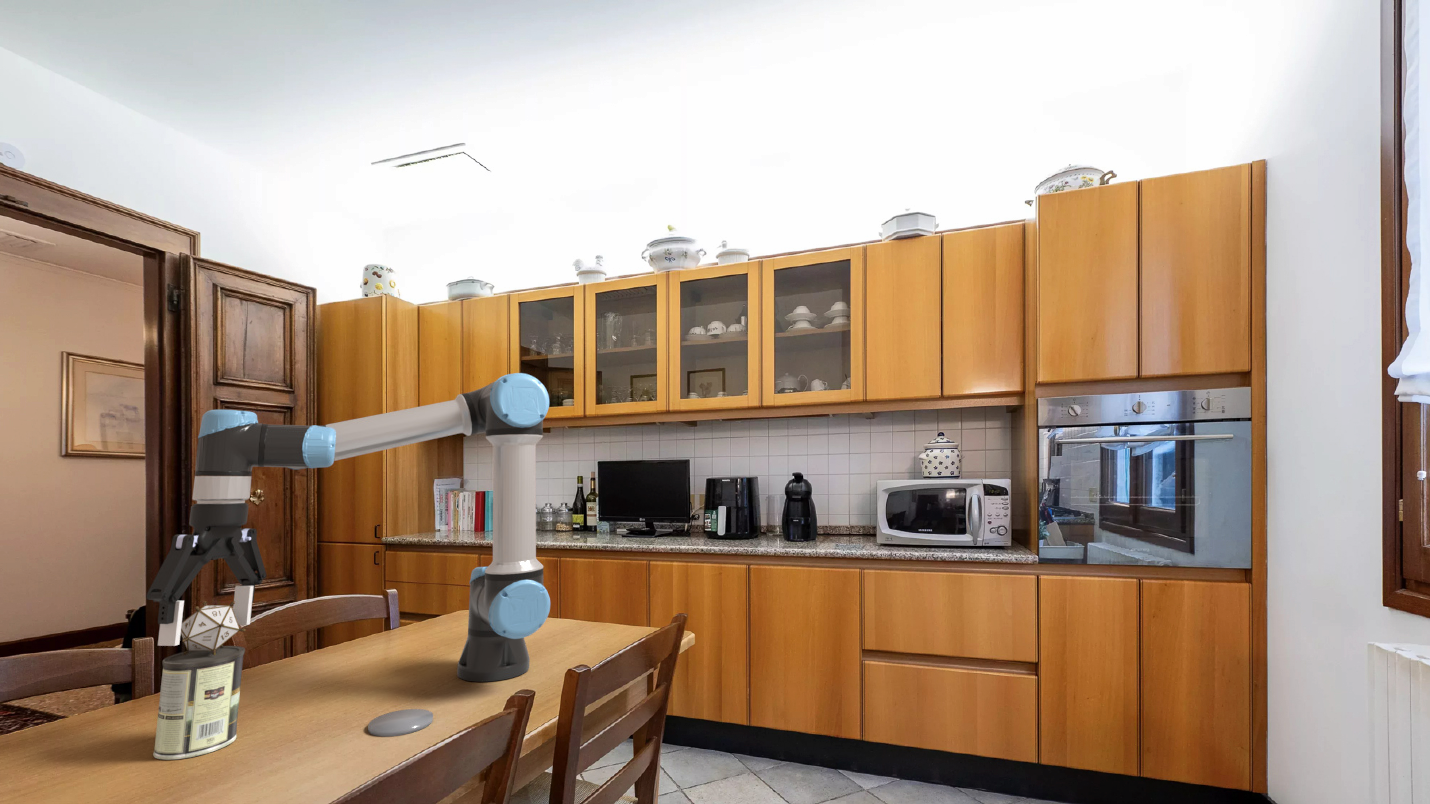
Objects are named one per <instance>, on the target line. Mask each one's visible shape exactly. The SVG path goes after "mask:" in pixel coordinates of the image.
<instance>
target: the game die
mask: <svg viewBox="0 0 1430 804" xmlns="http://www.w3.org/2000/svg"><path fill="white" fill-rule="evenodd" d="M202 604H203V606H202V607H201V608H200V606H196V607H195V609H194V610H195V612H194V613H192V614H191V615H190V616H188V617H187V618H186V619H184V620H182V624H181V634H180V637H181V638H182V642H183V643H184V646H185V649H186V650H185V651H183V652H184V654H183V656H184V655H186V654H187V653H188V652H189V651H213V652H212V654H213V655H216V651H215V650H216V649H217V648H219V647H220V648H223V646H225V645H224V644H225V643H226V642H227V641H229V640H230V639H231V638H232V637H234V636H235V635H236V634H238V633H239V632H242V633H243V632H246V631H247V629H245V628H243V627H242V628H240V625H239V624H238V622H237V619H236V617H235V614H234V611H233V605H234V604H235V601H234V600H233V601H232V602H231V603H230V604H228V605H227V604H226V605H225V604H223V605H221V604H219V605H216V604H215V605H214V604H213V605H211V604H209V605H208V601H205V600H204V601H203V603H202Z"/></svg>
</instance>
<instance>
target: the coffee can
mask: <svg viewBox="0 0 1430 804" xmlns="http://www.w3.org/2000/svg"><path fill="white" fill-rule="evenodd" d="M215 651H216V655H213V654H212V652H213V651H189V652H188V653H187V654H186V655H184V656H183V654H184V652H185V651H182V652H178V653H174V654H172V655H169V656H166V657H164V659H163V660H162V676H161V683H160V684H161V685H160V692H159V693H160V694H159V703H158V712H157V713H158V714H157V721H156V729H155V730H156V732H155V739H154V740H155V741H154V750H153V753H152V754H153V755H152V756H153V757H154V758H155V759H158V760H163V761H165V760H166V761H170V760H182V759H191V758H194V757H199V756H203V755H206V754H210V753H213V752H216V751H218V750H221V749H223V748H225V747H227V746H230V744H233V742H235V741H236V739H237V731H238V730H237V729H238V719H239V718H238V715H239V708H240V706H239V705H240V697H241V695H240V693H241V683H242V675H243V673H242V672H243V662H244V655H245V654H246V653H245V652H246V648H245V647H243V646H238V645H224V646H223V648H220V647H219V648H217V649H216V650H215Z"/></svg>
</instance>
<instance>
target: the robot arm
mask: <svg viewBox="0 0 1430 804" xmlns="http://www.w3.org/2000/svg"><path fill="white" fill-rule="evenodd" d="M549 408H550V395H549V393H548V391H547V388H546V387H545V385H544V384H543V383H542V382H541V381H540V380H539V379H538V378H536V377H535V376H533V375H530V374H528V373H524V372H515V373H508V374H505V375H503V376H500V377H499V378H497V379H496V380H495V381H492V382H490V383H489V384H486V385H484V386H483V387H480V388H478V389H476V390H472V391H469V392H464V393H460V394H457V396H456V397H455V399H453V400H451V399H450V400H447V401H441V402H436V403H432V404H426V405H421V406H416V407H411V408H406V409H400V410H395V411H391V412H386V413H380V414H375V415H368V416H365V417H364V416H363V417H360V418H359V417H358V418H354V419H348V420H342V421H340V422H334V423H328V424H324V425H300V424H299V425H298V424H267V423H262V422H261V423H259V420H258V415H257V414H256V413H255V412H252V411H247V410H237V409H235V410H234V409H210V410H208V411H206V412H205V413H203V414H202V418H201V422H200V429H199V434H198V436H197V449H196V457H195V458H196V459H195V468H194V469H195V472H194V481H193V490H192V498H191V499H192V500H193V501H196V503H194V504H193V505H191V506H190V513H189V522H188V524H189V526H190V527H192V528H193V530H192V531H193V532H192V534H174V536H173V537H172V540H171V543H170V544H171V546H170V550H169V552H168V554H167V555H166V557H165V559H164V561H163V563H162V564H161V566H160V568H159V571H158V572H157V574H156V576H155V578H154V580H153V581H152V584H151V586H150V587H149V589H148V591H147V593H146V596H145V598H146V599H147V600H152V601H153V602H154V603H155V602H157V603H159V606H158V607H159V608H158V616H157V624H158V625H159V631H158V640H157V646H160V647H161V646H162V647H163V646H164V647H166V646H168V647H172V646H173V647H175V646H178V645H180V641H181V624H182V622H183V613H184V605H185V600H180V599H181V597H182V596H183V594H184V593H185V592H186V590H187V588H188V587H189V586H190V584H191V583H192V582H193V580H194V579H195V578H196V576H197V575H198V574H199V572H200V571H201V570H202V569H203V567H204V566H205V565H207V564H208V563H210V561H213V560H214V561H215V560H218V559H223V560H224V561H225V562H226V564H227V566H228V568H229V569H230V570H231V572H232V574H233V575H234V576H235V578H236V579H237V581H238V583H239V584H240V585H235V586H234V587H235V588H234V595H233V602H234V601H235V604H234V605H232V609H233V611H234V614H235V617H236V619H237V622H238V624H239V626H248V625H251V616H252V606H253V603H254V601H255V600H254V599H255V590H256V586H260V585H261V584H262V583H263V580H265V579H266V578H267V572H266V570H265V569H266V568H265V565H264V562H263V557H262V554H261V552H260V548H259V544H258V540H257V538H258V537H257V536H258V534H257V532H258V530H257V529H256V528H242V526H244V525H246V524H247V522H248V516H249V504H248V503H247V502H246V501H247V500H249V499H250V498H251V497H250V496H251V486H252V474H253V472H252V470H253V467H258V468H264V467H265V468H267V467H268V468H288V469H290V470H294V471H295V470H304V469H308V468H309V469H317V468H329V467H331V466H332V465H333V464H334V463H335V461H339V460H343V459H349V458H354V457H358V456H362V455H367V454H372V453H375V452H381V451H384V450H390V449H394V448H399V447H403V446H407V445H408V446H409V445H412V444H417V443H421V442H426V441H430V440H435V439H440V438H444V437H445V438H446V437H448V436H453V435H457V434H464V435H466V436H467V437H469V436H474V435H478V434H485V439H486V440H487V441H488V442H489V443H490V444H491V445H492V449H493V450H492V451H493V452H492V455H493V456H492V458H493V459H492V463H493V464H492V466H493V467H492V475H493V476H492V478H493V479H492V482H493V483H492V497H493V498H492V561H491V563H490V564H489V565H488V566H477V567H475V568H474V569H472V571H471V575H470V580H469V603H468V604H469V605H468V623H467V638H466V641H465V643H464V646H463V649H462V652H461V655H460V656H459V660H458V662H457V668H456V670H457V671H456V675H457V678H459V679H461V680H463V681H469V682H479V683H480V682H495V681H504V680H508V679H512V678H516V677H518V676H521V675H523V674H525V673H527V672H528V671H529V670H530V654H529V651H528V647H527V644H526V640H525V638H526V637H529V636H531V635H533V634H534V633H536V632H537V631H538V630H539V629H540V628H541V627H542V626H543V625H544V624H545V623H546V620H547V619H548V617H549V614H550V610H551V598H550V595H549V593H548V590H547V589H546V587H545V586H544V565H543V564H542V563H541V562H540V561H539V560H538V559H537V538H536V537H537V529H536V528H537V526H536V525H537V523H536V522H537V517H536V516H537V512H536V511H537V505H536V504H537V502H536V498H537V495H536V493H537V490H536V489H537V488H536V487H537V485H536V481H537V476H536V475H537V473H536V470H537V469H536V468H537V467H536V465H537V463H536V462H537V461H536V459H537V458H536V455H537V453H536V450H537V449H536V446H537V444H538V443H539V442H540V441H541V439H543V437H544V434H543V433H544V430H543V428H544V419H545V417H546V416H547V414H548V411H549ZM528 669H529V670H528Z"/></svg>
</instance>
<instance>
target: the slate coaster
mask: <svg viewBox="0 0 1430 804" xmlns="http://www.w3.org/2000/svg"><path fill="white" fill-rule="evenodd" d="M433 720H434V714H433V712H432V711H430V710H428V709H421V708H407V709H401V710H395V711H391V712H388V713H387V712H386V713H384V714H381V715H379V716H377V717H375V718H372V720H370V722H369V723H368V726H367V728H368V730H367V731H368V734H371V736H376V737H398V736H405V735H409V734H412V733H416V732H418V731H421V730H423V729H426V728H427V727H429V726H430V725H431V724H432V723H433V722H434V721H433Z"/></svg>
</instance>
